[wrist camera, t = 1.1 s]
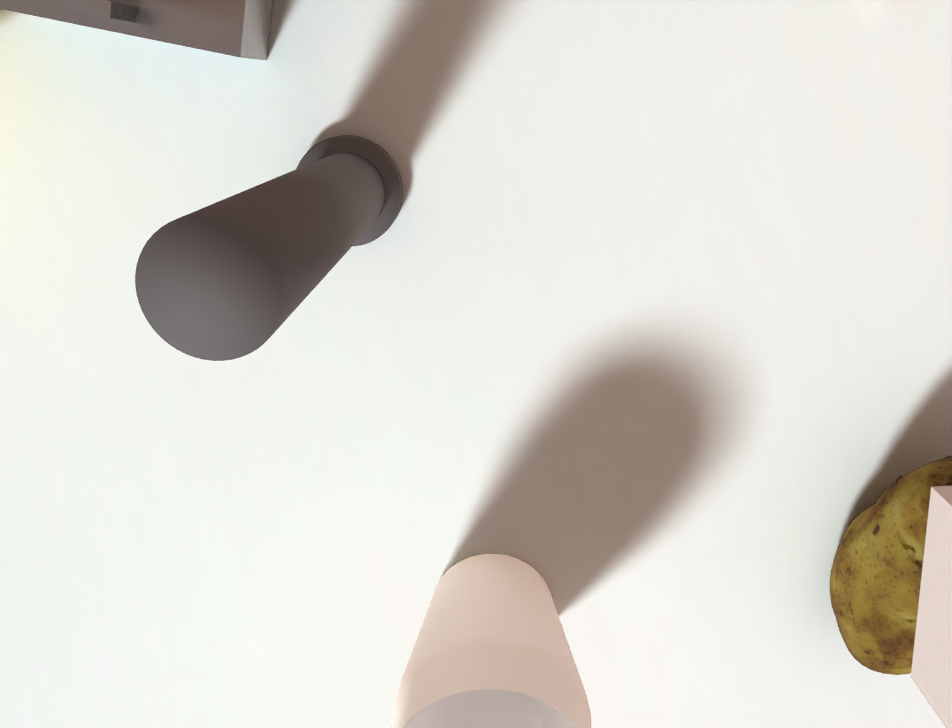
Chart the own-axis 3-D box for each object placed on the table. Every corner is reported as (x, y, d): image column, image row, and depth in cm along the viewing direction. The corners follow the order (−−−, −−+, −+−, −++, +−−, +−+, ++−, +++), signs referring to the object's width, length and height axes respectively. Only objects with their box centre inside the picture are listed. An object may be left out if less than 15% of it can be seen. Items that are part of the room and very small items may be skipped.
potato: (754, 576, 45) (806, 676, 37) (919, 393, 41) (1013, 462, 34) (870, 648, 46) (943, 758, 39) (1039, 477, 43) (1156, 561, 35)
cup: (447, 508, 44) (430, 655, 33) (600, 567, 45) (635, 729, 34) (387, 638, 47) (353, 815, 35) (532, 691, 48) (544, 880, 36)
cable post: (291, 232, 39) (101, 366, 21) (303, 125, 38) (111, 164, 19) (393, 252, 40) (300, 403, 21) (410, 147, 38) (326, 207, 19)
